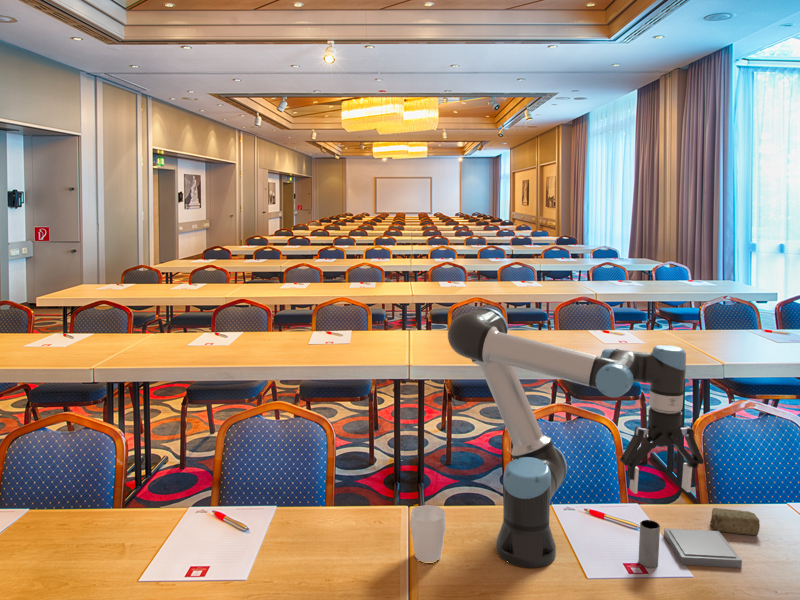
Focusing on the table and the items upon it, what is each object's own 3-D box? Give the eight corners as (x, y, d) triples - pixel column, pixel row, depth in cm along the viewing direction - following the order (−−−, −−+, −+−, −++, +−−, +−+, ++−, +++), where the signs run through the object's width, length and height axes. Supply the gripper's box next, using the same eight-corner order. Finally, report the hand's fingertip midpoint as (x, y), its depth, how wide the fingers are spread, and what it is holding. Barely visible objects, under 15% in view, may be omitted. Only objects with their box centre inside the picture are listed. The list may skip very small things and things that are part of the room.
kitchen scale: (681, 564, 148) (682, 556, 148) (663, 535, 162) (664, 527, 162) (741, 567, 146) (742, 559, 146) (718, 538, 160) (718, 529, 160)
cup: (450, 552, 155) (450, 508, 153) (438, 570, 147) (438, 524, 145) (418, 544, 159) (418, 502, 157) (404, 562, 151) (404, 517, 149)
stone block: (760, 537, 160) (761, 520, 160) (713, 533, 163) (714, 515, 163) (753, 527, 166) (754, 510, 165) (708, 522, 169) (709, 506, 168)
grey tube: (635, 557, 151) (637, 519, 150) (653, 557, 151) (655, 519, 150) (642, 568, 147) (644, 528, 146) (661, 568, 147) (663, 528, 145)
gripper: (622, 414, 142) (617, 498, 145) (723, 413, 143) (716, 496, 146) (609, 404, 149) (605, 484, 152) (705, 403, 151) (699, 482, 154)
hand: (659, 490), depth 149 cm, fingers open, 13 cm apart
